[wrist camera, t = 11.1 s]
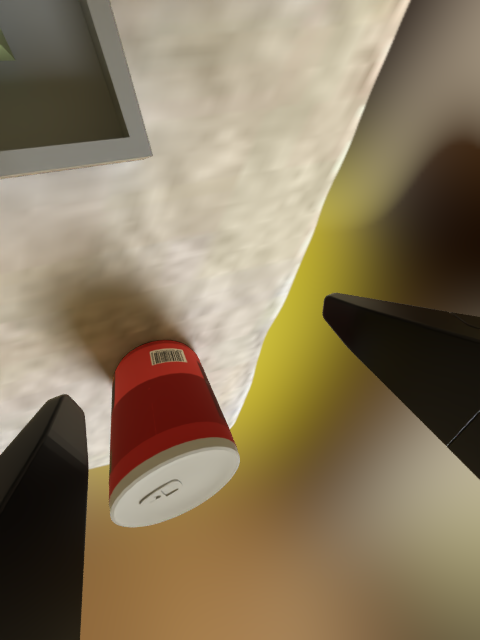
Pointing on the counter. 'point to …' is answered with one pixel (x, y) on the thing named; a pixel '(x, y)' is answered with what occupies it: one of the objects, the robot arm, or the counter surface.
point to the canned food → (165, 436)
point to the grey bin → (65, 89)
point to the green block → (5, 49)
